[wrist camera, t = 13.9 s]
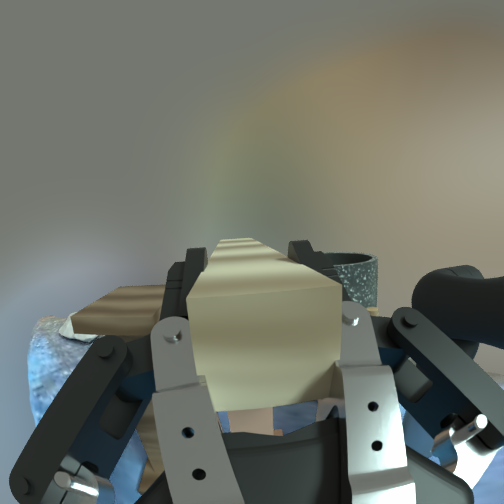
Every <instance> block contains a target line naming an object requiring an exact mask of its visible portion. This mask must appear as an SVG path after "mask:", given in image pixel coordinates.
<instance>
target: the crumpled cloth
mask: <svg viewBox="0 0 504 504" xmlns="http://www.w3.org/2000/svg"><path fill="white" fill-rule="evenodd" d="M75 313H77V312H75ZM75 313H71V314H70V315H69V316H68V319H67V320H66V322H65V323H64V325H63V326H62V327H61V328H60V329H59V333H60V334H61V335H62V336H65V337H67V338H70V339H78V340H81V341H85V342H91V341H92V340H93V339H95V338H96V337H98V336H99V335H89V334H74V332H73V327H72V323H71V318H70V316H72V315H74V314H75Z"/></svg>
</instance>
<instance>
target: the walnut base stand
mask: <svg viewBox="0 0 504 504" xmlns="http://www.w3.org/2000/svg"><path fill="white" fill-rule="evenodd" d="M165 286H166V285H147V286H127V287H119V288H117V289H115V290H114V291H112V292H110V293H108V294H107V295H105V296H103V297H102V298H100V299H98V300H97V301H95V302H93V303H92V304H90V305H89V306H87V307H85V308H83V309H82V310H80V311H79V312H77V313H75V314H74V315H72V316H70V318H71V323H72V327H73V332H74V334H89V335H115V336H118V337H120V338H122V339H123V340H124V341H125V343H126V342H129V341H133V340H136V339H139V338H142V337H144V336H146V335H148V334H150V333H151V331H152V329H153V327H154V326H155V325H156V324H157V323H158V322H159V319H160V313H161V307H162V302H163V296H164V291H165ZM136 429H137V432H138V434H139V437H140V439H141V442H142V444H143V447H144V449H145V451H146V454H147V456H148V458H147V462H146V465H145V469H144V472H143V475H142V479H141V482H140V486H139V489H138V491H139V493H140V494H141V495H143V494H144V492H145V491H146V490H147V489H148V488H149V487H150V486H151V485H152V484H153V483H154V481H155V480H156V479H157V478H158V477H159V476H160V475H161V473H162V472H163V471H164V470H165V469H164V464H163V460H162V455H161V450H160V445H159V440H158V434H157V428H156V423H155V416H154V410H153V402H152V399H151V401H150V403H149V404H148V406H147V408H146V410H145V412H144V414H143V416H142V417H141V419H140V421H139V423H138V425H137V427H136Z"/></svg>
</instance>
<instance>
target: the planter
mask: <svg viewBox="0 0 504 504" xmlns="http://www.w3.org/2000/svg"><path fill="white" fill-rule="evenodd" d="M324 254H325V255H326V256H327V257H329V258H330V260H331V261H332V263H333V265H334V268H335V269H336V271H337V273H338V276H339V277H340V279H341V281H342V283H343V285H344V287H345V289H346V291H347V293H348V295H349V297H350V299H351V301H352V302H356V303H359V304H361V305H362V306H364V307H365V308H366V309H367V310H368V312H369V314H370V315H371V316H378V312H379V309H378V308H377V280H378V279H377V278H378V258H377V257H376V256H374V255H371V254H364V253H350V252H331V253H324Z"/></svg>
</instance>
